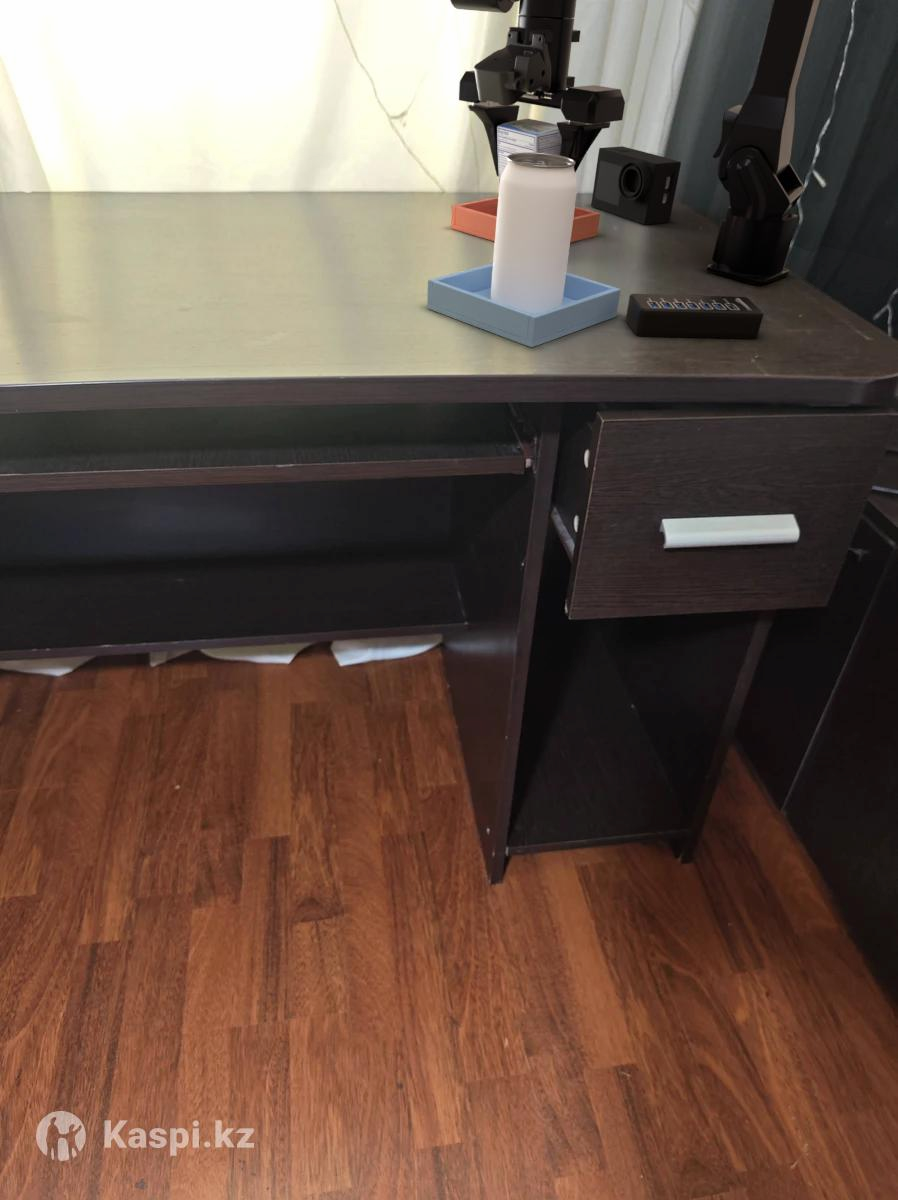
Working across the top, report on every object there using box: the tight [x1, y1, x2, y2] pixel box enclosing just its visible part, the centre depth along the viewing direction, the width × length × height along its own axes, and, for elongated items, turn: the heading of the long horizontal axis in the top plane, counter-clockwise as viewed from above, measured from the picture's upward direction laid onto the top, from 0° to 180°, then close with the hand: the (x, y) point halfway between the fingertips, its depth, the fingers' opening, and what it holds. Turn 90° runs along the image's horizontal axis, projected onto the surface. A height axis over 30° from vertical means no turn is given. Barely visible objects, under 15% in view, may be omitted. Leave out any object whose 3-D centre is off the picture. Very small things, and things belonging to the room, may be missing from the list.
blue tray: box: [426, 262, 622, 348], centre depth 76 cm, size 12×12×2 cm
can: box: [491, 153, 578, 315], centre depth 73 cm, size 6×6×12 cm
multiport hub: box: [625, 293, 765, 340], centre depth 75 cm, size 4×11×2 cm, turn 95°
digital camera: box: [590, 145, 682, 226], centre depth 107 cm, size 10×5×7 cm, turn 33°
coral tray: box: [450, 196, 601, 244], centre depth 99 cm, size 12×12×2 cm
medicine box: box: [497, 118, 562, 187], centre depth 96 cm, size 8×4×9 cm, turn 30°
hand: (530, 183), depth 96 cm, fingers closed on medicine box, 8 cm apart
